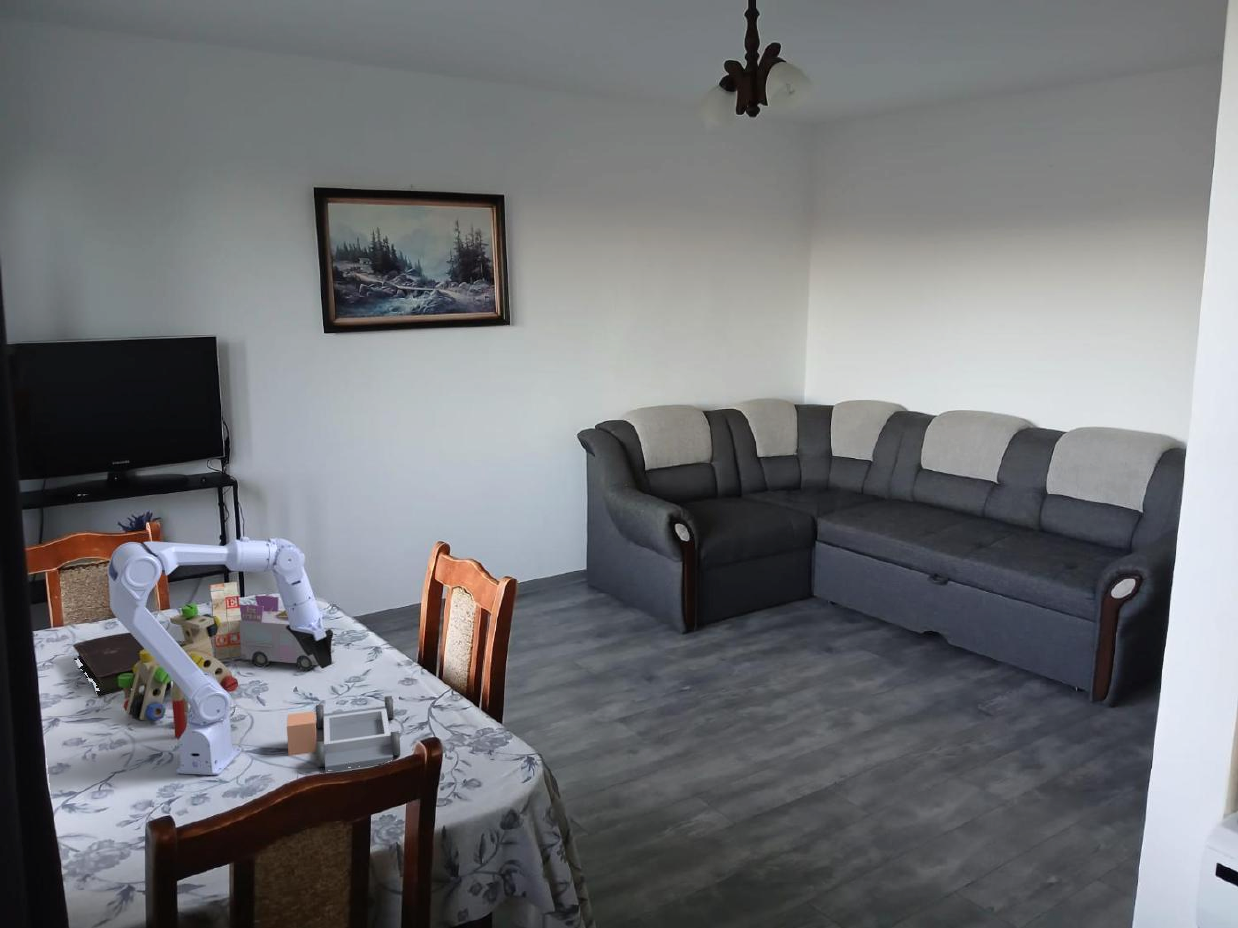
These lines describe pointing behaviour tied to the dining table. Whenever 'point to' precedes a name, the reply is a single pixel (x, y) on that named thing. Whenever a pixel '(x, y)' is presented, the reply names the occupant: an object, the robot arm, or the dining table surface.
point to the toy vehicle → (270, 635)
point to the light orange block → (301, 733)
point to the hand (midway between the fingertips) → (319, 659)
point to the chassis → (356, 737)
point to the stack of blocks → (226, 619)
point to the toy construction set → (159, 681)
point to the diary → (108, 660)
